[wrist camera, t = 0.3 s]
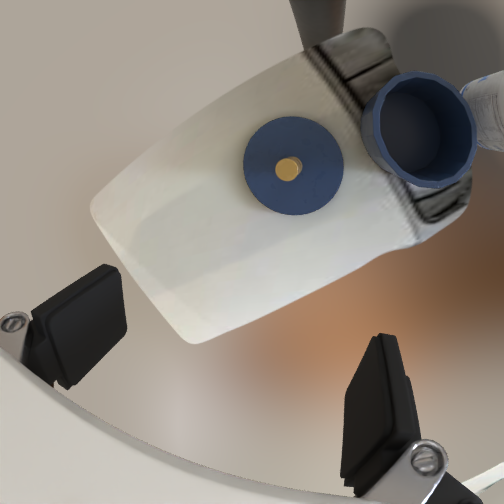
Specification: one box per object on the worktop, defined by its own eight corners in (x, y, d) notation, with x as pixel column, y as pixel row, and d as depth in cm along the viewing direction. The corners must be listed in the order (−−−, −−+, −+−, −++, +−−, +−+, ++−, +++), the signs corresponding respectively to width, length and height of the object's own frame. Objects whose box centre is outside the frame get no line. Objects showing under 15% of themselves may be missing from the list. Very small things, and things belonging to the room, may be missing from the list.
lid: (230, 142, 35) (210, 142, 29) (317, 102, 31) (315, 92, 25) (270, 226, 38) (258, 243, 32) (357, 193, 34) (364, 203, 28)
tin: (345, 104, 30) (352, 90, 22) (421, 79, 26) (449, 61, 17) (381, 188, 33) (398, 203, 24) (454, 161, 29) (489, 169, 20)
